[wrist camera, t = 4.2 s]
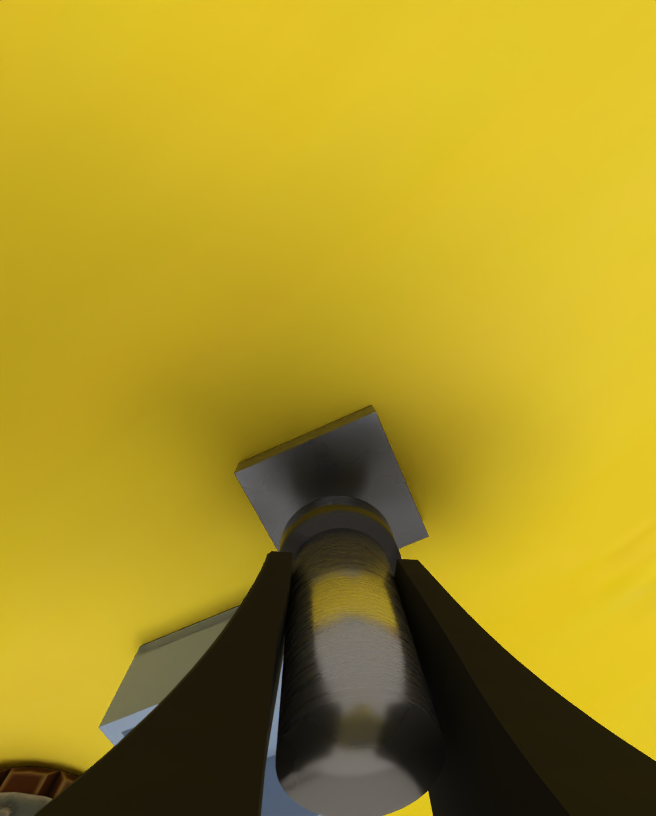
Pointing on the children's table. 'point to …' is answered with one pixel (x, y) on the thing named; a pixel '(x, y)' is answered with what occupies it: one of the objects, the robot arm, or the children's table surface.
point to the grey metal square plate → (332, 476)
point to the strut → (351, 670)
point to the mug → (30, 789)
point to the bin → (158, 676)
